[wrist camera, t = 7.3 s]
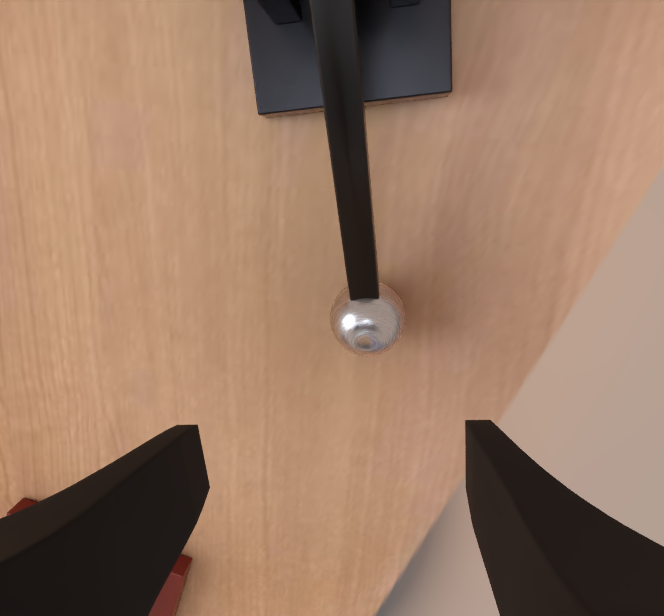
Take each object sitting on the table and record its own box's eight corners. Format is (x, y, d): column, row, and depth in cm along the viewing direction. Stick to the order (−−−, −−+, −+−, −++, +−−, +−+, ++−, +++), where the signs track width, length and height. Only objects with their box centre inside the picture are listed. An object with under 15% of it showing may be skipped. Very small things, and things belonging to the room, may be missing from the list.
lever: (405, 319, 20) (408, 370, 18) (337, 323, 20) (332, 373, 18) (379, -295, 9) (381, -368, 7) (240, -262, 10) (198, -321, 8)
